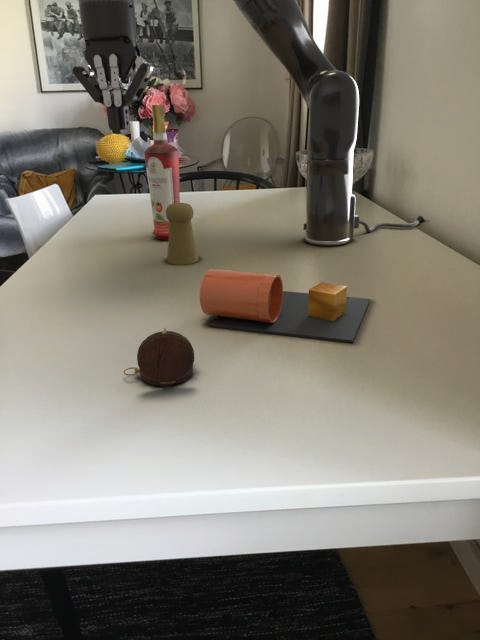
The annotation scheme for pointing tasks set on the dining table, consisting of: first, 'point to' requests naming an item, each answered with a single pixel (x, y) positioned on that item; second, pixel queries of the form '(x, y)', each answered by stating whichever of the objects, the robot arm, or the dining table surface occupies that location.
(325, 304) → the block
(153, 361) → the dark brown dome
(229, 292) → the tumbler
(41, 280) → the dining table surface
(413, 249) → the dining table surface
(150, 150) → the liquor
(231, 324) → the mat
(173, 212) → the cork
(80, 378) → the dining table surface
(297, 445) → the dining table surface
